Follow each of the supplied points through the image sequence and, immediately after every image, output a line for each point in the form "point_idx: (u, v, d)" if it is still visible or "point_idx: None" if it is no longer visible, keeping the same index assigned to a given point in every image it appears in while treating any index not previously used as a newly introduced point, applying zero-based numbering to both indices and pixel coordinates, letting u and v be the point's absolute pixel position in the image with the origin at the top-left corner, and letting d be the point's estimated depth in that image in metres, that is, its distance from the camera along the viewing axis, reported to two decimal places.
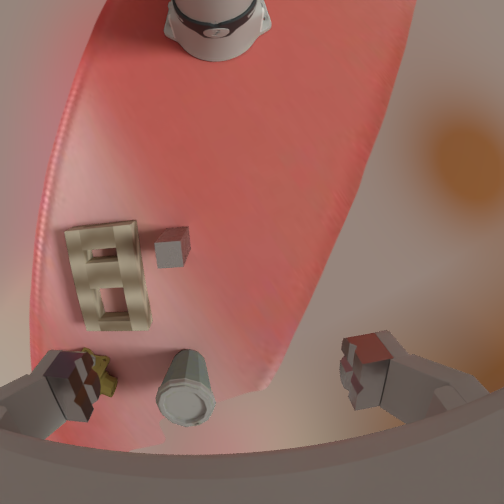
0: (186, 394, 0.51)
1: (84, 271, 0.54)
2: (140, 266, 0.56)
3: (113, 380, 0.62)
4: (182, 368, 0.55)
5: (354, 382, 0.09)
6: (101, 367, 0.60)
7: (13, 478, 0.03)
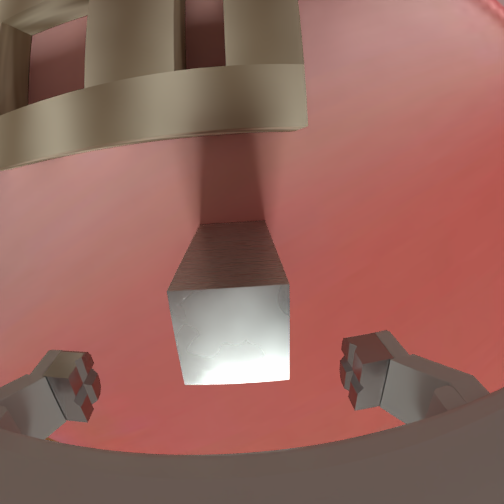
0: None
1: None
2: (149, 139, 0.17)
3: None
4: None
5: (354, 382, 0.09)
6: None
7: (13, 478, 0.03)
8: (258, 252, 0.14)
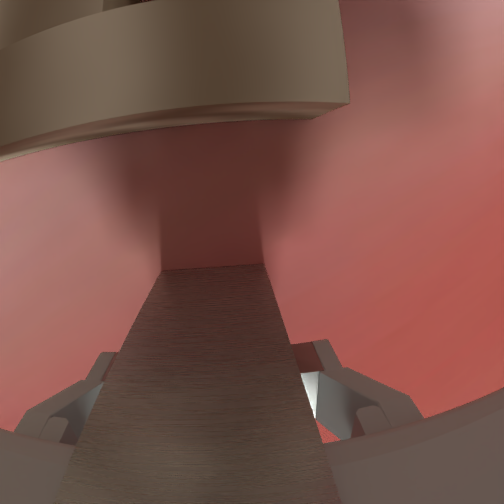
0: None
1: None
2: (72, 137, 0.09)
3: None
4: None
5: None
6: None
7: (13, 478, 0.03)
8: (259, 367, 0.06)
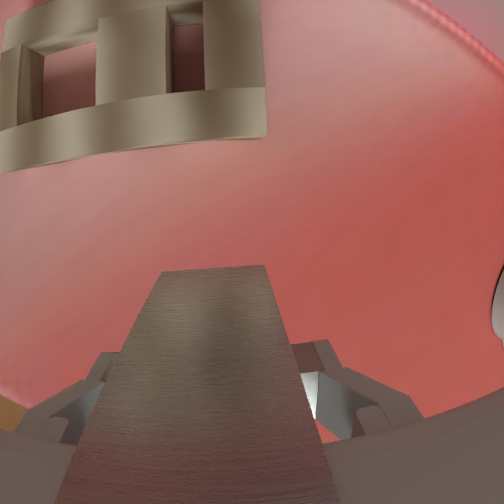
0: None
1: (144, 3, 0.16)
2: (146, 146, 0.21)
3: None
4: None
5: None
6: None
7: (13, 478, 0.03)
8: (259, 368, 0.06)
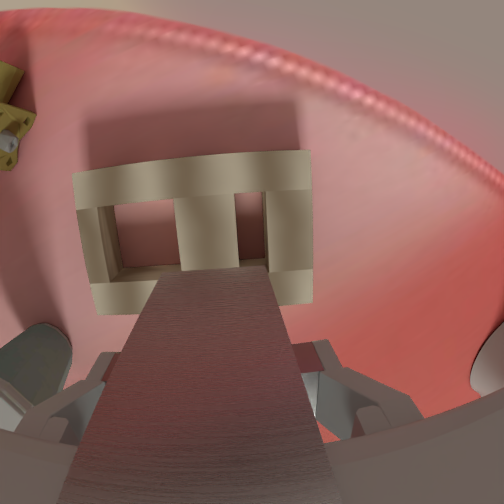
0: None
1: (214, 188, 0.25)
2: None
3: None
4: (52, 392, 0.25)
5: None
6: None
7: (13, 478, 0.03)
8: (260, 369, 0.06)
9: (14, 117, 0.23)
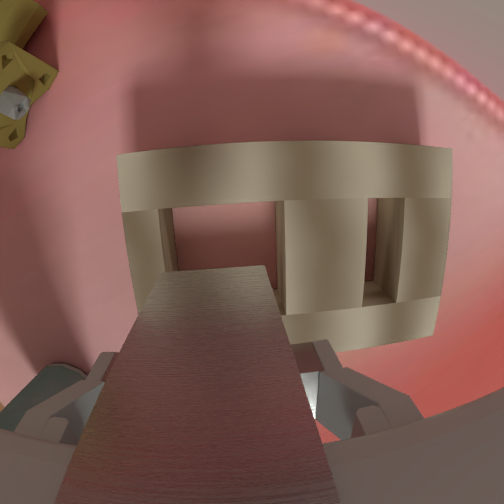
0: None
1: (343, 189, 0.17)
2: None
3: None
4: None
5: None
6: None
7: (13, 478, 0.03)
8: (259, 369, 0.06)
9: (28, 68, 0.14)
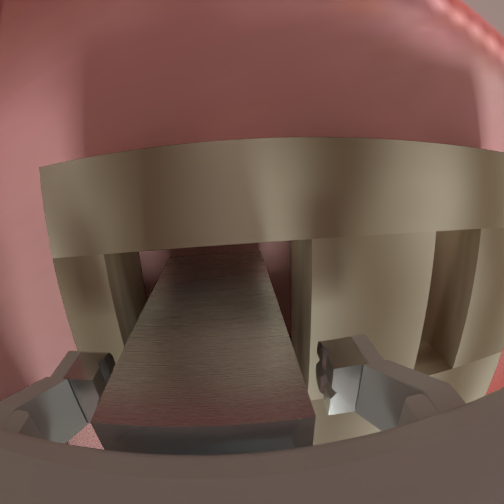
0: None
1: (403, 218, 0.10)
2: None
3: None
4: None
5: (328, 386, 0.09)
6: None
7: (13, 478, 0.03)
8: (254, 324, 0.08)
9: None
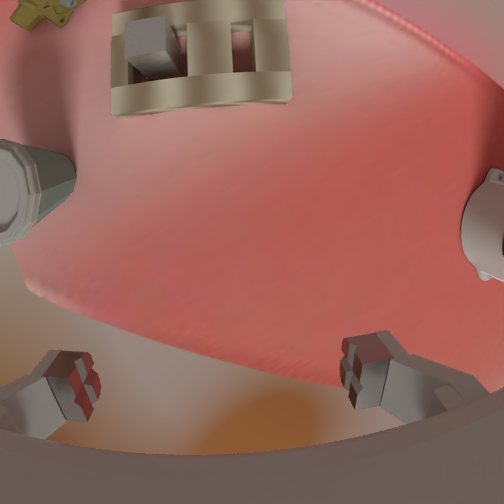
0: (13, 197, 0.24)
1: (216, 16, 0.29)
2: (216, 104, 0.34)
3: (29, 27, 0.27)
4: (52, 179, 0.28)
5: (354, 382, 0.09)
6: (52, 13, 0.26)
7: (13, 478, 0.03)
8: None
9: None
